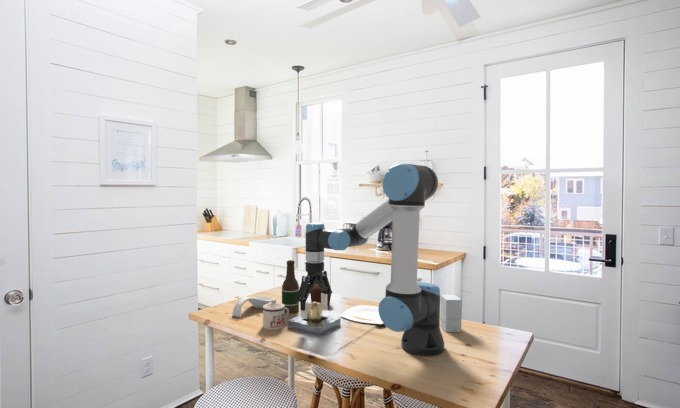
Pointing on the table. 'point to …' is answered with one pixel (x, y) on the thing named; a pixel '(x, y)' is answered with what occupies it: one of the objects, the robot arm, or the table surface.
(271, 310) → the teacup with lid
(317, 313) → the yellow can
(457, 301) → the small box
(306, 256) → the robot arm
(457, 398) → the table surface
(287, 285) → the beer bottle
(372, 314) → the plate
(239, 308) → the spoon rest
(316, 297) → the muffin
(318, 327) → the frame
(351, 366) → the table surface
